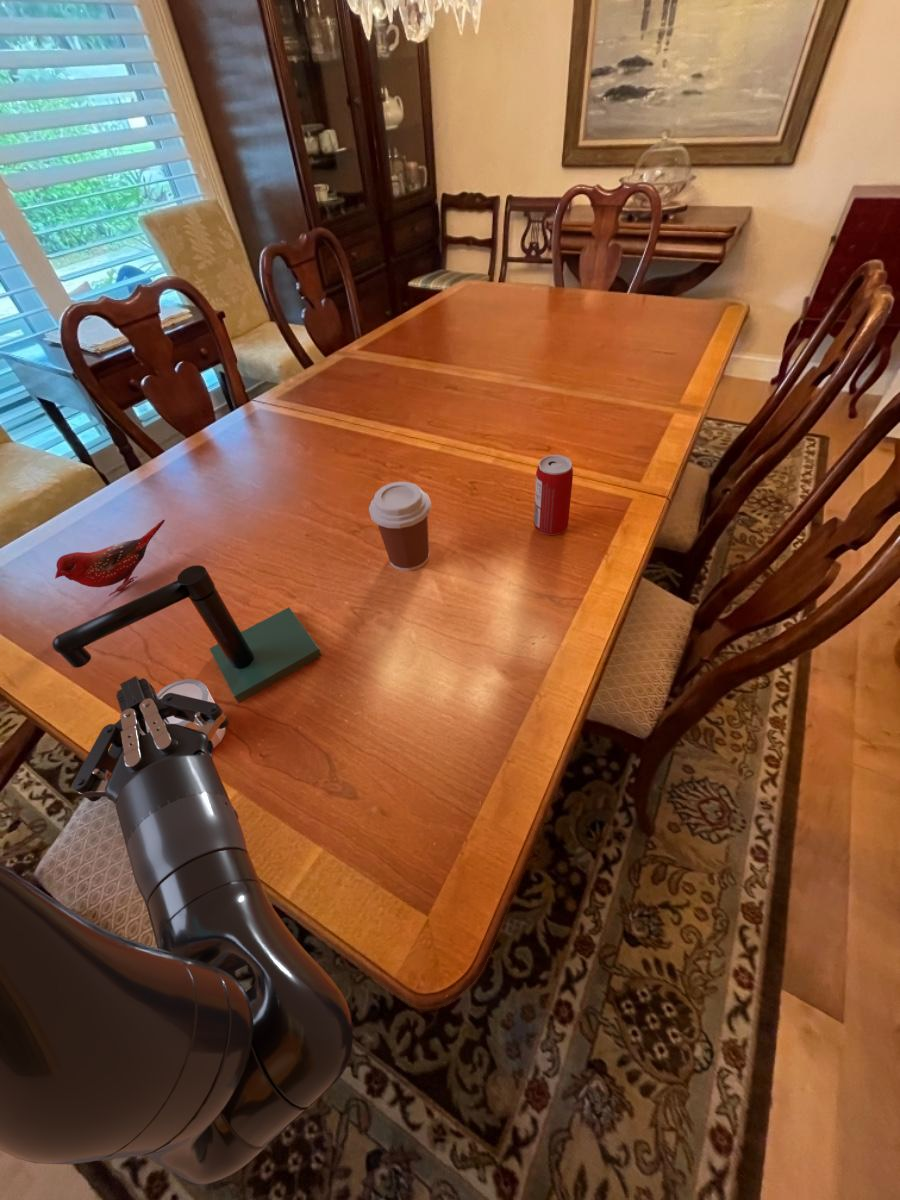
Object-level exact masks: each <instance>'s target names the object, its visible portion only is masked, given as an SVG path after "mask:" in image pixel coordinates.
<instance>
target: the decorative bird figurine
mask: <svg viewBox="0 0 900 1200" xmlns="http://www.w3.org/2000/svg"><path fill="white" fill-rule="evenodd" d="M165 521H166V519H162V520H161V521H159V522H158V523H157V524H156V525H155V526H153V528H151V529H150V530H149V531H147V533H145V534H144V535H143V536H141V537H140V538H138V539H132V540H127V541H122V542H119V543H115V544H113V545H110V546H107V547H105V548H102V549H98V550H95V551H91V552H81V551H77V552H70V553H67V554H63V555H61V556H60V557H59V558H58V559H57V560H56V566H55V567H56V573H55V576H54V579H55V580H56V579H58V578H61V577H65V578H66V579H68V580H69V581H74V582H76V583H77V584H79V585H82V586H85V587H90V588H104V587H110V586H113V585H115V584H118V583H120V582H121V583H122V584H120V585H118V587H116V589H115V591H113V592H111V593H109V594H108V597H110V596H112V595H114V594H116V593H117V592H121V591H123V590H125V588H126V587H127V586H129V585H130V584H132V583H133V582H134V581H135V579H136V578H139V576H138V575H136V576H132V575H133V573H134V571H136V570H135V569H137V567H138V565H139V564H140V563H141V561H142V560H143V558H144V557H145V554H146V551H147V548H148V545H149V543H150V541H151V540H152V538H154V536H155V535H156V534H157V532H158V531H159V530H160V529H161V527H162V526H163V525H164V523H165ZM131 576H132V577H131ZM122 581H123V582H122Z"/></svg>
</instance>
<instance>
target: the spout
mask: <svg viewBox="0 0 900 1200" xmlns="http://www.w3.org/2000/svg"><path fill="white" fill-rule="evenodd" d="M214 587H215V588H216V586H215V582H214V580H213V579H212V577H211V576H210V574H209V572H208V570H207V569H206V567H205V566H203V565H201V564H200V565H199V564H197V565H196V564H195V565H190V566H188V567H186V568H184V569H182V570H181V571H180V572H179V574H178V575H177V579H176V580H175V581H172V582H170V583H168V584H165V585H163V586H161V587H159V588H156V589H154V590H153V591H151V592H149V593H146V594H143V595H142V596H140V597H138V598H135V599H134V600H131V601H129V602H127V603H125V604H123V605H120V606H118V607H115V608H114V609H111V610H110V611H107V612H104V613H103V614H101V615H99V616H96V617H94V618H92V619H90V620H88V621H86V622H83V623H81V624H79V625H77V626H74V627H72V628H70V629H68V630H66V631H64V632H62V633H60V634H58V635H56V636H55V637H54V638H53V640H52V648H53V650H54V651H55V652H56V653H58V654H59V655H60V656H61V657H62V658H63V659H65V661H66V662H68V664H69V665H70V666H71V667H73V668H75V669H77V668H82V667H84V666H86V665H87V664H88V663H89V662H90V661H91V659H92V655H91V653H90V652H89V651H88V650H87V649H86V648H85V647H87V646H89V645H91V644H93V643H95V642H97V641H99V640H101V639H103V638H106V637H107V636H110V635H111V634H114V633H116V632H118V631H120V630H122V629H124V628H126V627H129V626H131V625H133V624H135V623H137V622H139V621H141V620H143V619H145V618H147V617H150V616H151V615H154V614H156V613H158V612H160V611H162V610H165V609H166V608H168V607H170V606H172V605H175V604H177V603H179V602H181V601H183V600H185V599H187V598H188V599H189V600H190V599H194V600H197V599H202V598H204V597H206V596H208V595H209V594H210V593H211V592H212V591H213V590H214Z"/></svg>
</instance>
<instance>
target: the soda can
mask: <svg viewBox="0 0 900 1200" xmlns="http://www.w3.org/2000/svg"><path fill="white" fill-rule="evenodd" d="M573 478H574V469H573V462H572V460H571V459H570V458H569V457H567V456H565V455H561V454H550V455H546V456H544V457H542V458H541V459H540V460H539V461H538V465H537V468H536V472H535V492H534V511H533V512H534V515H533V525H534V528H535V529H536V530H537V531H538V532H539V533H541V534H543V535H546V536H556V535H557V536H558V535H560V534H562V533H563V532H565V531H566V530H567V529H568V527H569V520H570V519H569V518H570V511H571V510H570V508H571V500H572V488H573V481H574V480H573Z"/></svg>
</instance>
